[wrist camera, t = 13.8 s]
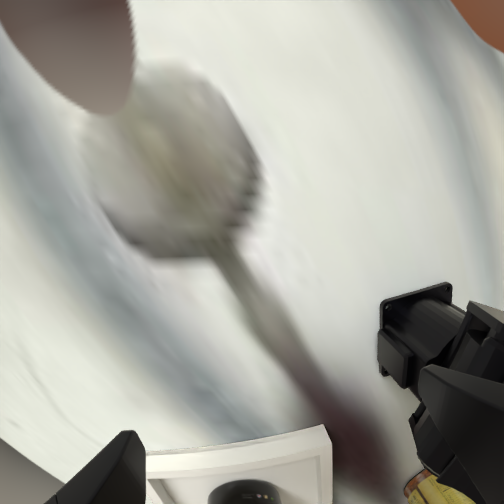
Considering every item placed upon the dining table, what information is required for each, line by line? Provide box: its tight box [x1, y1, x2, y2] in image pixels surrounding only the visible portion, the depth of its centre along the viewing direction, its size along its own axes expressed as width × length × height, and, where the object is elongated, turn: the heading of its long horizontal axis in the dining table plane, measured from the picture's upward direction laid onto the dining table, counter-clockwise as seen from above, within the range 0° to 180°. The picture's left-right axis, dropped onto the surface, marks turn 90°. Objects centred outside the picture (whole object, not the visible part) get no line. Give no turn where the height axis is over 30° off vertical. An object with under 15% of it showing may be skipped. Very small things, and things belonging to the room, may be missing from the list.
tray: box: [146, 424, 332, 504], centre depth 23 cm, size 16×16×2 cm
